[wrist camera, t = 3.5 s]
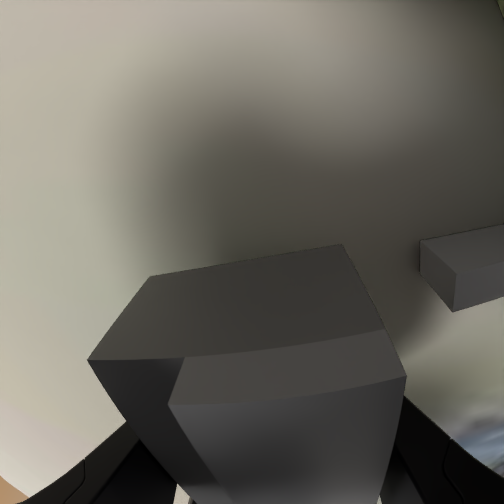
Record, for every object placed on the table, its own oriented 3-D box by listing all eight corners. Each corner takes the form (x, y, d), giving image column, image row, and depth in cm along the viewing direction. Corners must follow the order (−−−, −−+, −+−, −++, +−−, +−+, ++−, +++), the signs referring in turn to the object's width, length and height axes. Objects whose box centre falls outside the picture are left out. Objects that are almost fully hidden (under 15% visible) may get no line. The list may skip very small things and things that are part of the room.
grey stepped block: (350, 421, 10) (367, 527, 6) (219, 435, 10) (200, 535, 6) (341, 244, 7) (406, 375, 3) (149, 276, 8) (61, 396, 4)
